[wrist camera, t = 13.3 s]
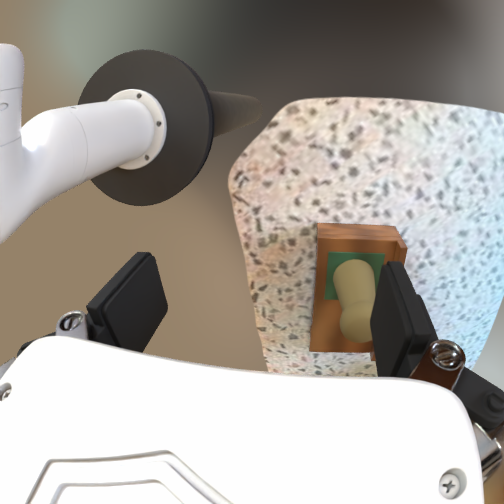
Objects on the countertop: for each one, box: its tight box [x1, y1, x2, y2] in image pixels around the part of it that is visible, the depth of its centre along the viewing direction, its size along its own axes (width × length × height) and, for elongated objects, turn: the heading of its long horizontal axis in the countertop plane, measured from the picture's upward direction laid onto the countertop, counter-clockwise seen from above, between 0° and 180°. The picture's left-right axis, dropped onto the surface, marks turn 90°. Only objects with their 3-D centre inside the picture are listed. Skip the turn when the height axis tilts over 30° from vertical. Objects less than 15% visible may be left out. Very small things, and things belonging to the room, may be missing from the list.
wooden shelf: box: [309, 223, 408, 361], centre depth 43 cm, size 12×22×7 cm, turn 3°
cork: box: [333, 259, 376, 343], centre depth 34 cm, size 6×6×11 cm
